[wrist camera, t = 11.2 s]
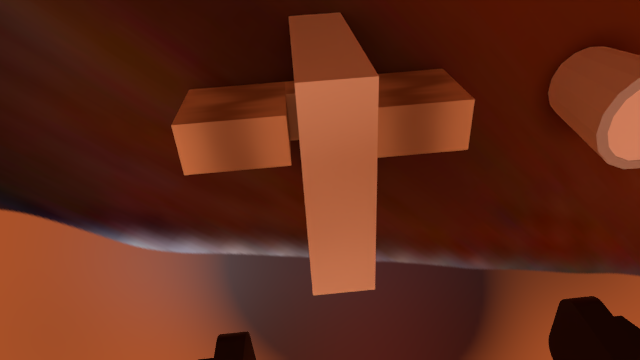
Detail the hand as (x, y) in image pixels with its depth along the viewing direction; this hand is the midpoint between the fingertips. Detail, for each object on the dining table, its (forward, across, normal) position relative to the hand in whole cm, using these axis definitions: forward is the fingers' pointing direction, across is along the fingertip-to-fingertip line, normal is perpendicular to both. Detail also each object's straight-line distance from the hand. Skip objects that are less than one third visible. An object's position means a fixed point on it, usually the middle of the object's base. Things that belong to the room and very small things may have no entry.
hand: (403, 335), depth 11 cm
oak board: (+22, +1, +2) cm, 23 cm away
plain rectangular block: (+22, +1, +2) cm, 23 cm away
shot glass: (+23, -19, +3) cm, 30 cm away
